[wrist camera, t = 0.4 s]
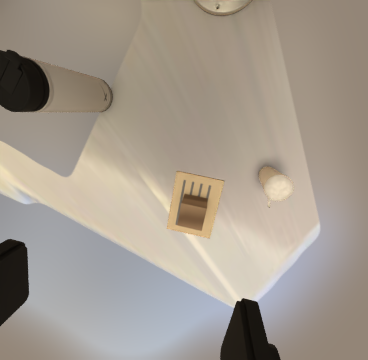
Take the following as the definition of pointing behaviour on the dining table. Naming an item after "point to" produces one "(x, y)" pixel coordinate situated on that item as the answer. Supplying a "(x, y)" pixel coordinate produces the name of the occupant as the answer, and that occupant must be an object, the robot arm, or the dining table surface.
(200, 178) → the letter
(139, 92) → the dining table surface
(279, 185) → the milkshake
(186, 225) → the walnut block
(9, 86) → the travel mug
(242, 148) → the dining table surface
